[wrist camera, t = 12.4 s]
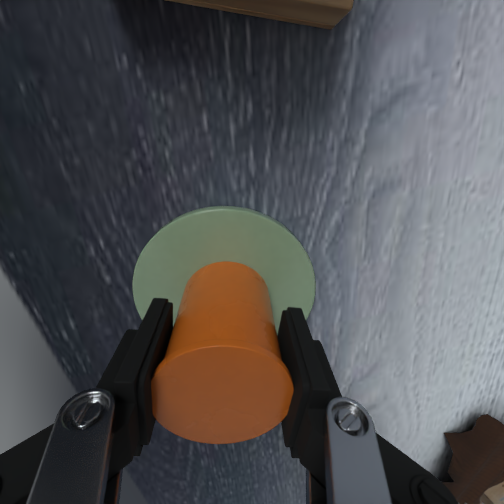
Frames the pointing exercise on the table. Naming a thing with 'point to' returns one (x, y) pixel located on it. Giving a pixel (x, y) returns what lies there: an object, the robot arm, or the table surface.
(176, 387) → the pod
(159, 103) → the table surface
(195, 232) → the coaster
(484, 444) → the potted plant
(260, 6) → the pod holder
